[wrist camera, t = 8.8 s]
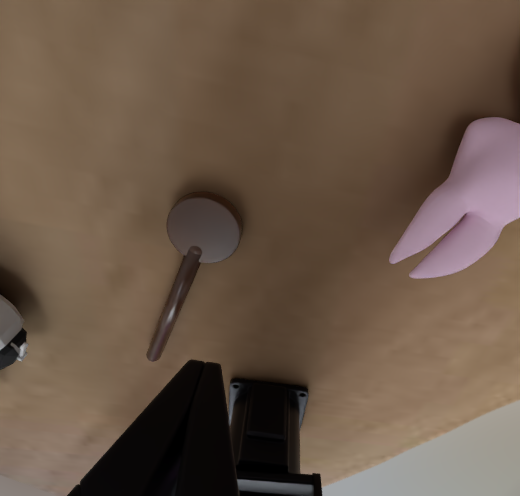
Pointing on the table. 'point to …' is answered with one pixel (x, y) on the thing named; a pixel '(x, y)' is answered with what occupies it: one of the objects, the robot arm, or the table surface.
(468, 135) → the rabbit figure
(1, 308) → the robot toy
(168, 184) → the table surface
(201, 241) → the spoon
